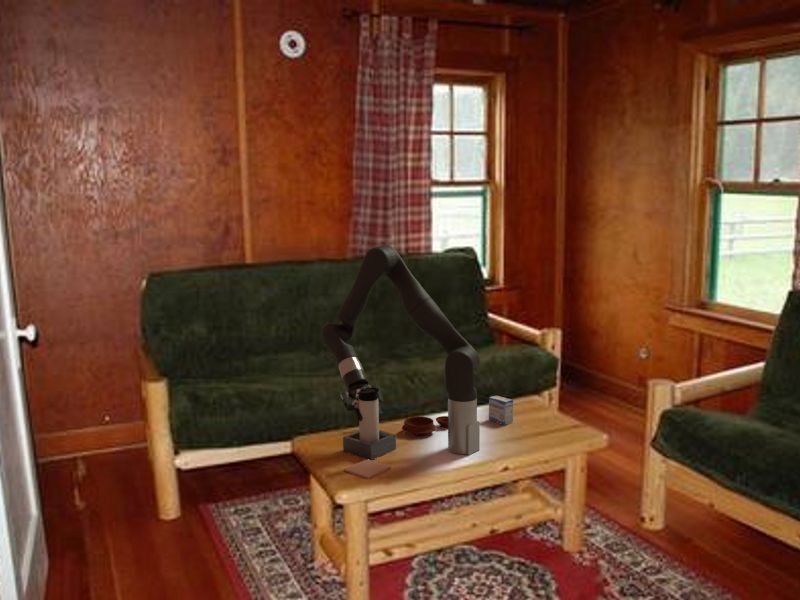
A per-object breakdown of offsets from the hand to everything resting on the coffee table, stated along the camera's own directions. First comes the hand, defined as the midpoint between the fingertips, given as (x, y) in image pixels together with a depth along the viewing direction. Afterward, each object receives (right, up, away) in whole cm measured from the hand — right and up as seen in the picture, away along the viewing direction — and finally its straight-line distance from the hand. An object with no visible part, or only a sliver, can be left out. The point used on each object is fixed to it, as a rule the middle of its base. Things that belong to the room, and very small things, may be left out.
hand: (370, 418), depth 229 cm
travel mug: (0, -10, +2) cm, 11 cm away
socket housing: (0, -11, +2) cm, 11 cm away
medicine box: (+46, -6, +29) cm, 54 cm away
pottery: (+19, -8, +21) cm, 29 cm away
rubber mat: (0, -13, -13) cm, 19 cm away
